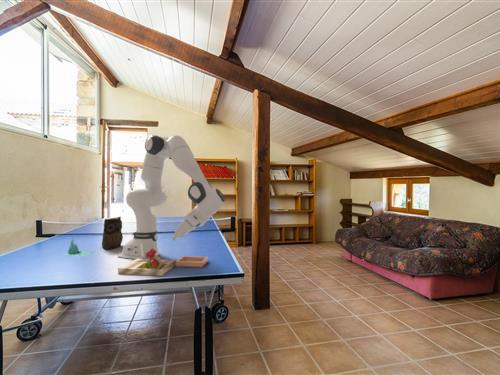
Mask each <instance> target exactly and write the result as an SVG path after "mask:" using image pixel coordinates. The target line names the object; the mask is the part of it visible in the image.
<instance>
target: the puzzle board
mask: <svg viewBox="0 0 500 375" xmlns="http://www.w3.org/2000/svg"><path fill="white" fill-rule="evenodd" d="M148 259H149V258H144V259H132V261H130V262H128V263H125V264H124V265H121V266H119V267H118V268H117V274H120V275H140V276H141V275H143V276H160V277H161V276H164V275H165V274H166V273H168V272H169V271H170V270H172V268H174V267H175V262H176V261H177V260H176V259H161V260H162V266H161V268H160V269H150V268H149V269H143V267H142V264H143V263H147V261H148ZM154 260H155V259H154ZM151 261H153V260H151ZM151 264H152V262H151Z"/></svg>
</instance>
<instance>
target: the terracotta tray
mask: <svg viewBox="0 0 500 375" xmlns="http://www.w3.org/2000/svg"><path fill="white" fill-rule="evenodd" d="M208 262H209V256H193V255H189V256H188V255H183V256H181V257H180V258H178V259H177V260H176V262H175V266H174V267H178V268H181V267H182V268H199V269H201V268H204V266H206V264H207V263H208Z"/></svg>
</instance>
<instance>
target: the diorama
mask: <svg viewBox="0 0 500 375" xmlns="http://www.w3.org/2000/svg"><path fill="white" fill-rule="evenodd" d="M74 241H75V240H74V239H73V238H72V239H71V240H70V242H69V246H68V250H67V252H65V253H63V254H64V256H67V257H85V256H92V255H94V252H92V251H82V250H79V247H78V244H77V243H75V242H74Z"/></svg>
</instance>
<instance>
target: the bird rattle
mask: <svg viewBox="0 0 500 375" xmlns="http://www.w3.org/2000/svg"><path fill="white" fill-rule="evenodd" d="M156 252H157V251H156V250H154V249H153V248H152V249H151V250H150V251H149V252H148V253H145V254H146V257H149V258H147V259H148V261H147V263H143V264H142V267H143V269H162V268H161V266H162V260H163V259H161V257H160V256H159V255H158V256H155V254H156ZM154 259H155V260H154ZM151 260H153V261H151ZM151 262H152V264H151Z"/></svg>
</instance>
